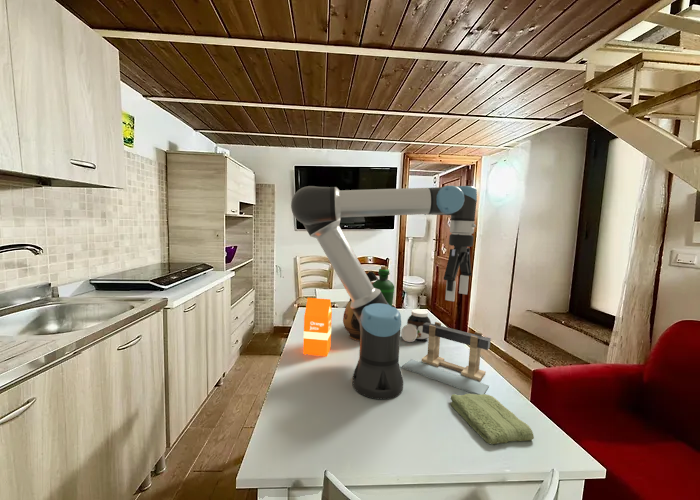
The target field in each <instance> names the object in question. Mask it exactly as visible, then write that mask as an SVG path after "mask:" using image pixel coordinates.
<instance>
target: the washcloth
mask: <svg viewBox="0 0 700 500" xmlns="http://www.w3.org/2000/svg"><path fill="white" fill-rule="evenodd" d="M450 400H451V402H450V406H451V407H452V408H453V409H454V410H455V411H456V413H458V415H459V416H461V418H462V419H463V420H464V421H465V422H466V423H467V424H468V425H469V426H470V427H471V428H472V429H473V430H474V431H475V432H476V433H477V434H478V435H479V436H480V438H482V439H483V440H484V442H486V443H487V444H490V445H497V444H504V443H505V444H507V443H509V442H515V441H516V442H526V441H529V442H530V441H533V440H534V439H535V436H534V433H533V430H532V428H531V427H530V425H528V424H527V423H526V422H524V421H523V420H521V419H520V418H519V417H518V416H517V415H516V414H515V413H513V412H512V411H511V410H510V409H508V408H507V407H506V406H504V405H503V404H502V403H501V401H499V400H498V399H497V398H495V397H494V396H493V395H490V394H486V393H485V394H481V395H476V394H472V393H465V394H461V395H459V394H456V393H454V394H451V395H450Z"/></svg>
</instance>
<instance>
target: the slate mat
mask: <svg viewBox="0 0 700 500" xmlns="http://www.w3.org/2000/svg"><path fill="white" fill-rule="evenodd" d="M401 368H402V369H404V370H407V371H410V372H412V373H414V374H415V373H416V374H418V375H421V376H423V377H426V378H429V379H432V380H434V381H438V382H439V383H442V384H444V385H448V386H451V387H454V388H456V389H459V390H461V391H464V392H467V393H469V394H476V395H481V394H486V392H487V391H488V390H489V388H490V385H489V384H485V383H484V382H483V383H482V382H481V381H478V380H475V379H472V378H469V377H466V376H463V375H461V374H460V375H459V374H456V373H454V372H451V371H448V370H444V369H441V368H438V367H436V366H433V365H430V364H427V363H424V362H422V361H418V360H416V359H412V358H410V360H408V361H406V362H405V363H404V364H402V365H401Z"/></svg>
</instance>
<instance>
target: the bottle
mask: <svg viewBox="0 0 700 500" xmlns="http://www.w3.org/2000/svg"><path fill="white" fill-rule="evenodd" d="M388 267H389V266H386V265H381V266H380V268H379V269H378V272H377V274H378V280H375V281H373V283H371V284H372V285H373V287H374V288H376V289H380V291H381V292H382V294H383V296H384V298H385V300H386V301H387V303H388V304H389V305H390V306H392V307H393V304H394V303H393V302H394V293H395V285H394V283H393V282H392V281H391V280H389V275H390V269H389V268H388Z"/></svg>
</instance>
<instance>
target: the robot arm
mask: <svg viewBox="0 0 700 500" xmlns="http://www.w3.org/2000/svg"><path fill="white" fill-rule="evenodd" d="M477 192H478V191H477V188H476V187H475V186H471V185H458V186H456V185H444V186H441V187H440V186H436V187H408V188H407V187H406V188H377V189H376V188H375V189H351V190H350V189H345V190H343V189H342V190H340V189H339V188H338V187H337V186H330V187H329V186H315V185H308V186H304V187H301V188H300V189H298V190H297V191H296V192H295V193H294V194H293V196H292V198H291V203H290V208H291V212H292V214H293V215H292V216H294V219H296V220H297V221H298V222H300V223H301V224H302V225H303V226H304V228H305V230H306V231H307V233H308V235H309V236H310V237H311V238H314V239H317V241H318V243H319V246H320V247H321V248H322V251H323V252H324V254H325V256H326V258H327V259H328V261H329V263H330V264H331V266H332V268H333V270H334V272H335V273H336V275H337V277H338V279H339V281H340V282H341V285H343V288H344V289H345V291H346V293H347V294H348V297H349V299H350V298H351V300H352V301H351V305H350V307H351V309H352V311H353V313H354V314H355V316H356V318H357V320H358V321H359V324H360V341H359V357H358V360H357V361H358V362H357V364H356V366H355V369H354V371H353V373H352V381H351V382H352V388H353V389H354V390H355V391H356V392H357V393H358V394H359V395H362V396H364V397H366V398H369V399H374V400H375V399H376V400H389V399H393V398H394V399H395V398H397V397H398V396H399V395H400V394H401V393H402V392H403V391H404V378H403V375H402V369H401V366H400V362H399V359H400V342H401V328H402V316H401V312H400V310H398V308H396V307H394V306H393V305H392V306H390V305H389V304H388V303H387V301H386V300H385V298H384V296H383V294H382V292H381V291H380V289H376V288H374V287H373V285H372V284H373V283H372V282H370V280H369V278H368V276H367V275H366V274H367V273H366V270H365V269H364V268H363V266H362V264H361V262H360V260H359V259H358V257H357V255H356V253H355V252H354V249H353V248H352V246H351V244H350V243H349V241H348V239H347V237H346V236H345V233H344V231H343V230H342V228H341V226H340V223H341V219H342V218H356V217H357V218H358V217H360V218H362V217H385V216H387V217H388V216H413V215H425V216H426V215H430V216H432V215H433V216H450V224H449V225H450V226H449V233H451V234H449V238H448V240H449V241H448V245H449V246H452V247H453V248H450V249H449V255H448V259H447V260H448V261H447V263H446V268H445V273H444V276H443V280H444V281H446V283H445V285H446V287H445V297H444V298H445V299H444V300H445V301H448V302H455V298H456V286H457V284H456V283H457V281H456V278H457V275H458V272H459V269H460V273H461V274H460V276H459V287H458V290H459V291H458V294H462V295H468V291H469V280H470V279H469V276H470V277H472V267H471V266H472V265H471V248H470V247H473V246H474V235H472V234H474V233H475V228H476V227H477V225H476V224H475V221H476V210H477V209H476V208H477V202H478V198H477V197H478V193H477Z"/></svg>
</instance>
